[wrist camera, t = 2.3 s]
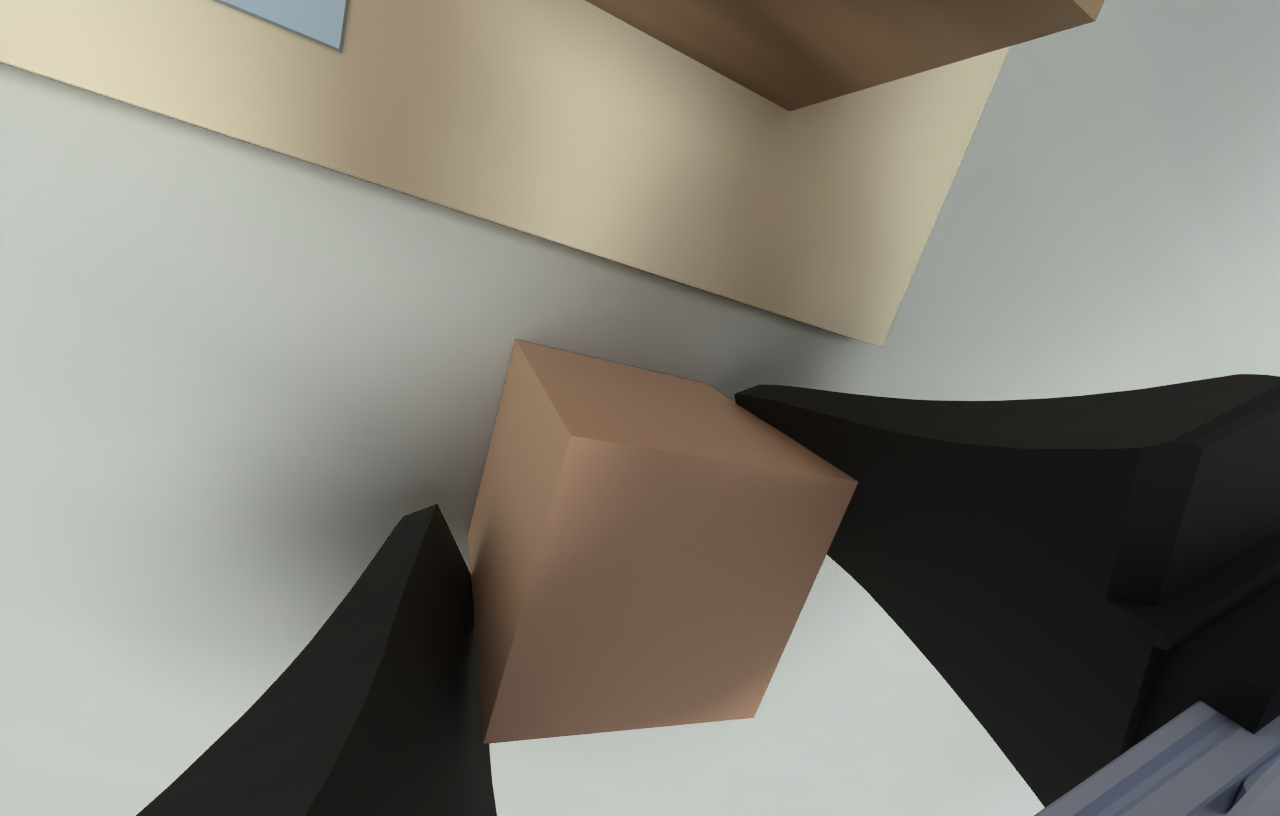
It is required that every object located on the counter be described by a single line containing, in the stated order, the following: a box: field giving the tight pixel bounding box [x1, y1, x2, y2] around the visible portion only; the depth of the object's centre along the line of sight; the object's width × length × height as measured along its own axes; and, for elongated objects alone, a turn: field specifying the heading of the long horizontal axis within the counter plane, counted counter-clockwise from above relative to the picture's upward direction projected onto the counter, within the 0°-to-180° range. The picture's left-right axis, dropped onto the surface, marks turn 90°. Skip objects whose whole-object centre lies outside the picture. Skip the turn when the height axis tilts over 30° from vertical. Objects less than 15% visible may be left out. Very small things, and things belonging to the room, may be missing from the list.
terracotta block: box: [468, 339, 858, 744], centre depth 9 cm, size 4×4×5 cm
